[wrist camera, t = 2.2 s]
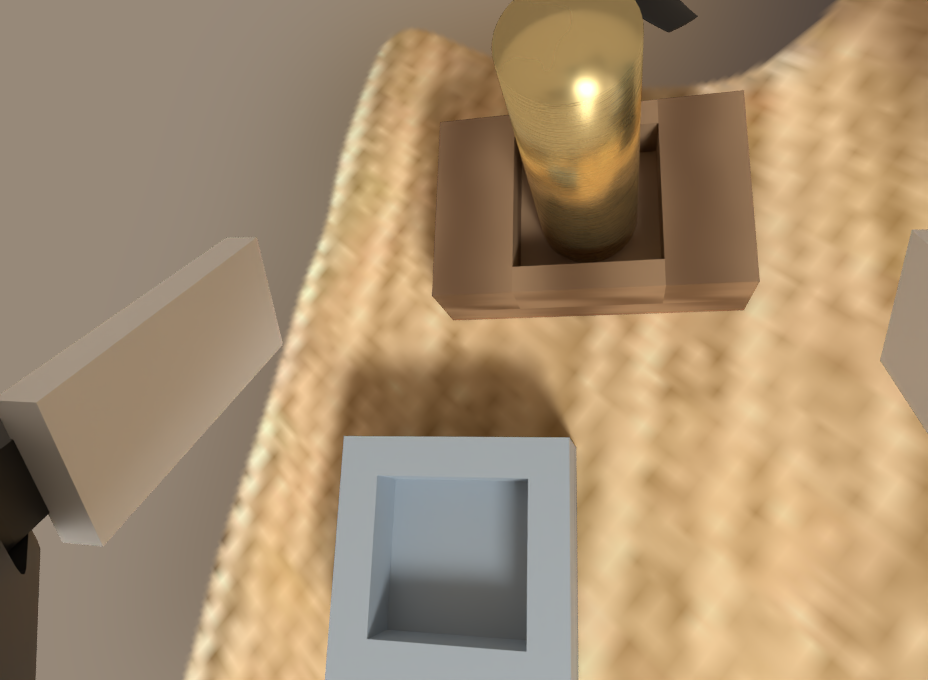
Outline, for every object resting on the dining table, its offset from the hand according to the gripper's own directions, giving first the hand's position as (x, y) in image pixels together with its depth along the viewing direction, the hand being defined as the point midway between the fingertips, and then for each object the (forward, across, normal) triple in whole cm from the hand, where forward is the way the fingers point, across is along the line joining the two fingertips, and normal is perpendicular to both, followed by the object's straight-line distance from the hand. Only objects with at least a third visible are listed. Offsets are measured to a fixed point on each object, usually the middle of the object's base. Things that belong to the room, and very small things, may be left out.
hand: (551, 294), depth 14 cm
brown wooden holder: (+20, 0, +6) cm, 21 cm away
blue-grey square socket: (+9, +5, +18) cm, 21 cm away
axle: (+19, 0, +5) cm, 20 cm away
